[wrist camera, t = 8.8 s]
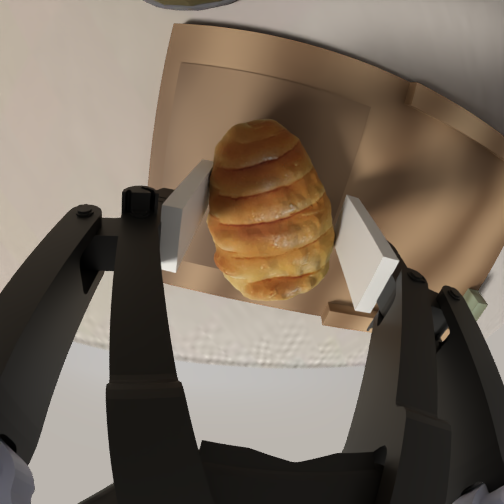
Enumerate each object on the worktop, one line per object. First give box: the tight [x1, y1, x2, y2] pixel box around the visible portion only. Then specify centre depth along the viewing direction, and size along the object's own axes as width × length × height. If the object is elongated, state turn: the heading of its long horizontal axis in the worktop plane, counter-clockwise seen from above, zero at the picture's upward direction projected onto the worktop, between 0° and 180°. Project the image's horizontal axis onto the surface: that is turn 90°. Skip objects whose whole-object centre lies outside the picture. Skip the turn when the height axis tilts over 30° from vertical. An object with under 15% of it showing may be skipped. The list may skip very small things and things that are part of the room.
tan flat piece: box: [148, 23, 504, 341], centre depth 17 cm, size 28×18×3 cm, turn 78°
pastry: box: [206, 119, 335, 301], centre depth 15 cm, size 9×7×4 cm
